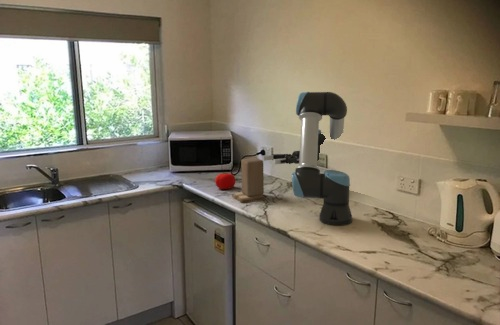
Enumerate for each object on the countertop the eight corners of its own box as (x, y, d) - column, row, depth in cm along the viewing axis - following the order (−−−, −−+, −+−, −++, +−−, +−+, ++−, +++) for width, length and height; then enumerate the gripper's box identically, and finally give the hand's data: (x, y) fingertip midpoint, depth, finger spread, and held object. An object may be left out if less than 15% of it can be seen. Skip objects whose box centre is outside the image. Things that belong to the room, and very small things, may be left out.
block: (247, 197, 214) (247, 162, 210) (241, 192, 223) (240, 158, 219) (264, 195, 218) (264, 160, 214) (257, 190, 227) (256, 157, 223)
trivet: (264, 199, 216) (264, 196, 216) (241, 203, 211) (241, 199, 210) (253, 193, 229) (253, 189, 228) (232, 196, 223) (231, 193, 223)
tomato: (238, 189, 237) (237, 173, 235) (218, 191, 233) (217, 175, 231) (232, 185, 248) (231, 169, 246) (212, 187, 243) (212, 171, 241)
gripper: (312, 166, 218) (280, 170, 209) (289, 159, 240) (258, 162, 231) (312, 153, 217) (280, 156, 207) (289, 147, 239) (258, 150, 230)
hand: (268, 160), depth 219 cm, fingers open, 13 cm apart
